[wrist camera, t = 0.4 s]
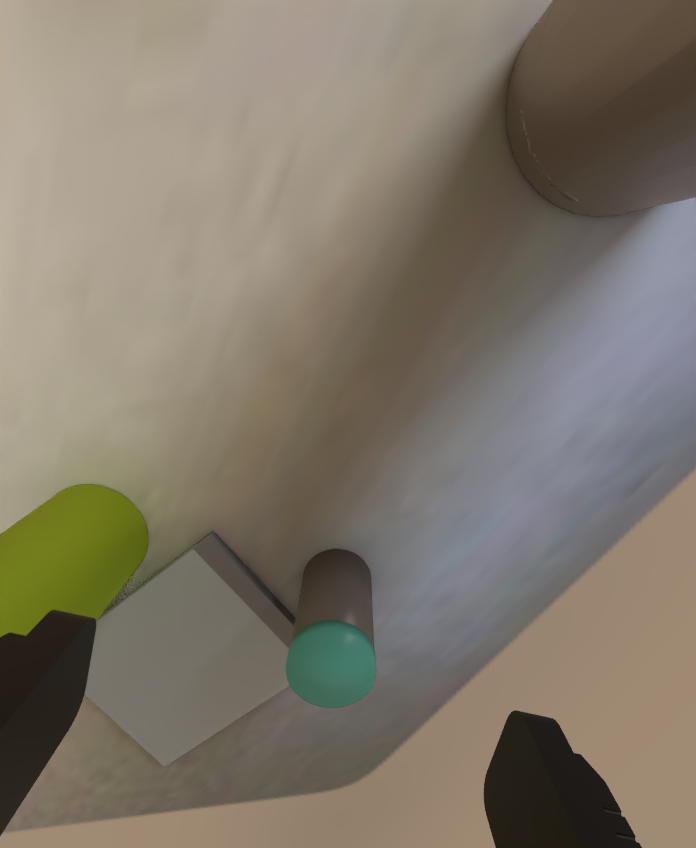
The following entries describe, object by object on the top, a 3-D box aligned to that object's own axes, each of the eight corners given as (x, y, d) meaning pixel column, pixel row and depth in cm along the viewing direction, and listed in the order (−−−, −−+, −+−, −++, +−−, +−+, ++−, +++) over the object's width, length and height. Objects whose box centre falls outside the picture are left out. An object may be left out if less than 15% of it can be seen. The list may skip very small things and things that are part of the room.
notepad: (213, 531, 28) (209, 536, 28) (327, 653, 30) (327, 661, 30) (51, 652, 31) (45, 660, 30) (167, 758, 33) (164, 767, 32)
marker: (342, 535, 28) (337, 616, 21) (386, 585, 29) (394, 677, 22) (288, 573, 29) (266, 663, 22) (331, 621, 30) (324, 722, 23)
